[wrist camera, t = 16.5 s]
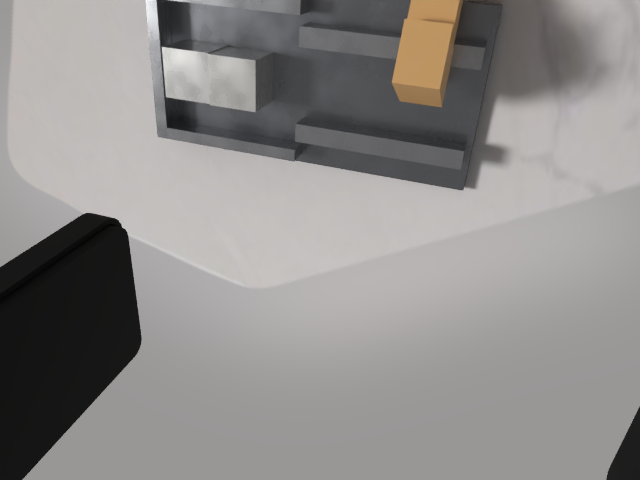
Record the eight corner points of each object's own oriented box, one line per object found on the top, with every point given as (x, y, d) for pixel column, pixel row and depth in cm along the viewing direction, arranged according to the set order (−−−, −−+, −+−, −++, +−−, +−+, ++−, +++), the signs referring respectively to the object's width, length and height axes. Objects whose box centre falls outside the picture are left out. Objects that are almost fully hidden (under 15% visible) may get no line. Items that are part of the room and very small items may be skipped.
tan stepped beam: (399, 101, 39) (434, -69, 39) (441, 107, 39) (477, -66, 38) (391, 82, 35) (431, -113, 34) (439, 89, 34) (481, -110, 33)
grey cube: (227, 46, 45) (207, 54, 43) (272, 52, 45) (255, 60, 42) (228, 94, 47) (209, 105, 45) (272, 101, 47) (255, 112, 44)
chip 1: (184, 39, 46) (161, 46, 43) (227, 45, 45) (207, 52, 43) (187, 87, 48) (165, 97, 45) (229, 93, 47) (209, 104, 45)
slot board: (162, -29, 45) (142, -27, 43) (502, 5, 39) (500, 9, 36) (174, 135, 52) (158, 144, 50) (464, 186, 46) (460, 200, 43)
